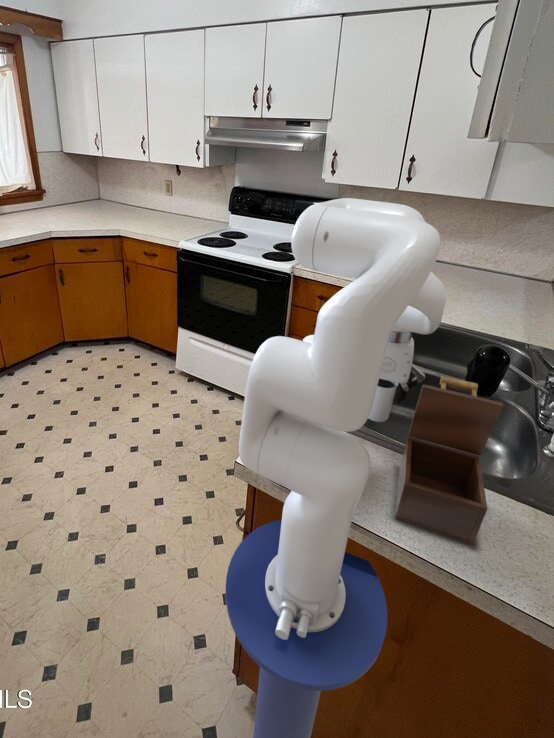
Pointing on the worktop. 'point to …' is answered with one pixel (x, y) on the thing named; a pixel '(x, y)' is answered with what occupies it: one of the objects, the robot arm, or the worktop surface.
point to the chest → (441, 490)
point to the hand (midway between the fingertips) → (379, 395)
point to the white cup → (383, 400)
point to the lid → (454, 416)
